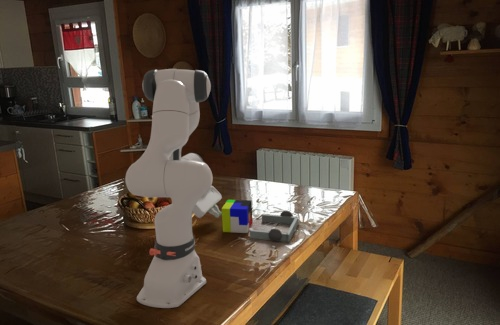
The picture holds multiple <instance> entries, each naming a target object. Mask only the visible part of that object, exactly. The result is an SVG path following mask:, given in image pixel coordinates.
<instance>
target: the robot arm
mask: <svg viewBox="0 0 500 325" xmlns="http://www.w3.org/2000/svg"><path fill="white" fill-rule="evenodd" d="M211 87H212V85H211V81H210V78H209V75H208V74H207V72H205V71H204V70H199V69H195V70H192V69H181V68H180V69H179V68H178V69H177V68H168V69H167V68H165V69H151V70H148V71H147V72H146V73H145V74H144V76H143V80H142V91H143V94H144V96H145V98H146V99H147V100H148V101H149V102H152V103H153V105H152V115H151V116H152V119H151V120H152V121H151V131H150V137H149V138H150V139H149V142H148V145H147V147H146V149H145V151H144V152H143V153H142V155H141V156H140V157H139V158H138V159H137V160H136V161H134V162H133V163H132V164H131V165H130V166H129V167H128V169H127V170H126V173H125V177H124V178H125V179H124V180H125V185H126V188H127V189H128V191H129V192H130V194H132V195H133V196H138V197H143V198H170V199H171V204H168V205H166V206H165V207H163V208H161V209H160V210H158V211H157V213H156V214H155V217H154V221H153V222H154V230H155V238H156V239H155V241H154V242H155V243H154V247H153V248H152V247H151V248H150V249H149V255H150V256H153V258H152V260H151V263H150V264H149V267H148V269H147V272H146V274H145V276H144V279H143V287H142V288H141V290H140V291H139V293H138V294H137V296H136V301H137V302H138V303H139V304H141V305H144V306H146V307H152V308H158V309H159V308H161V309H171V308H172V309H173V308H177V307H180V306H181V305H182V304H184V302H186V301H187V300H188V299H190V298H191V297H192V296H193V295H194V294H195V293H196V292H197V291H199V290H200V289H201V288H202V287H203V286H204V285H206V284H207V279H206V277H204V276H203V274H202V273H203V272H202V267H201V266H202V265H201V261H200V260H201V259H200V257H199V255H198V254H197V252H196V250H195V247H196V240H195V236H194V235H193V214H194V215H195V217H197V218H199V219H201V218H202V217H204V215H205V214H207V213H208V214H210V215H213V216H214V217H215V218H216V219H219V217H220V216H222V210H220V209H219V206H218V205H217V204H218V202H219V201H221V199H223V197H222V194H221V193H220V192H219V191H218V189H216V187H214V186H213V185H212V184H213V179H214V178H213V173H212V170H211V168H210V167H209V165H208V164H207V163H206V162H205V161H204V160H203V158H202V157H201V156H200V155H199V154H197V153H195V152H189V153H187V154H185V155H183V156H182V149H183V147H184V146H186V144H187V142H188V141H189V138H190V136H191V135H192V133H193V132H194V131H195V130H196V129H197V127H198V126H199V122H200V118H201V117H200V115H201V113H200V103H202V102H205V101H206V100H207V99H208V98H209V95H210V92H211Z"/></svg>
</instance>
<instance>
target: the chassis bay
mask: <svg viewBox="0 0 500 325" xmlns="http://www.w3.org/2000/svg"><path fill="white" fill-rule="evenodd" d="M261 222H262V223H269V224H270V223H273V224H284V225H290V226H289V228H288V230H287V231H286V232H282V231H281V230H280V229H279V228H277V227H276V228H274V227H273V228H272V229H270V230H269V231H268V230H260V229H259V230H258V229H257V230H256V229H249V235H250V236H249V238H250V239H255V240H266V241H272V242H274V243H275V242H276V243H278V242H283V243H284V242H286V243H289V242H290V243H291V240H292V237H293V236H294V234H295V231H296V230H297V227H298V226H299V222H300V220H299V216H293V213H292V212H291V211H290V210H283V211H281V213H280V214H267V213H262V214H261Z"/></svg>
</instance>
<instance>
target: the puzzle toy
mask: <svg viewBox="0 0 500 325" xmlns="http://www.w3.org/2000/svg"><path fill="white" fill-rule="evenodd" d="M252 203H253V202H252V200H247V199H246V200H245V199H244V200H242V199H227V200H226V201H225V204H223V206H222V207H221V212H222V214H221V221H222V232H223V233H241V234H248V233H249V232H250V230H251V227H252V224H253V206H252V205H253V204H252Z"/></svg>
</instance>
